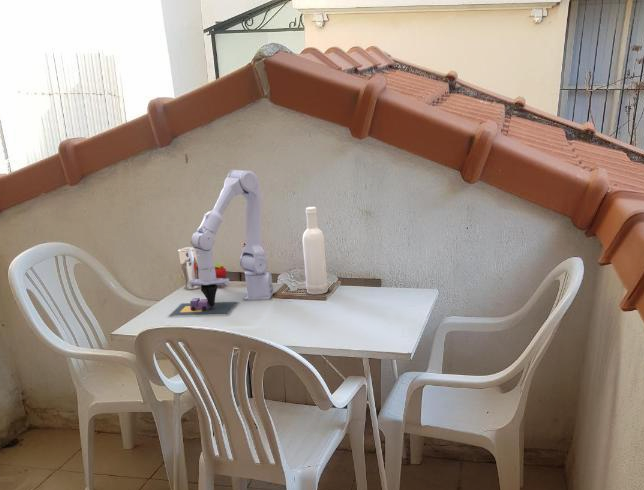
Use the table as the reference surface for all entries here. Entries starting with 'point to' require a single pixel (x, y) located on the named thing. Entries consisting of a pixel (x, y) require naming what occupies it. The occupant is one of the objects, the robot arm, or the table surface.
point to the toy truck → (199, 304)
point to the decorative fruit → (220, 271)
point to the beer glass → (189, 265)
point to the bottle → (314, 255)
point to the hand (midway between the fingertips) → (212, 305)
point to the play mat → (217, 309)
